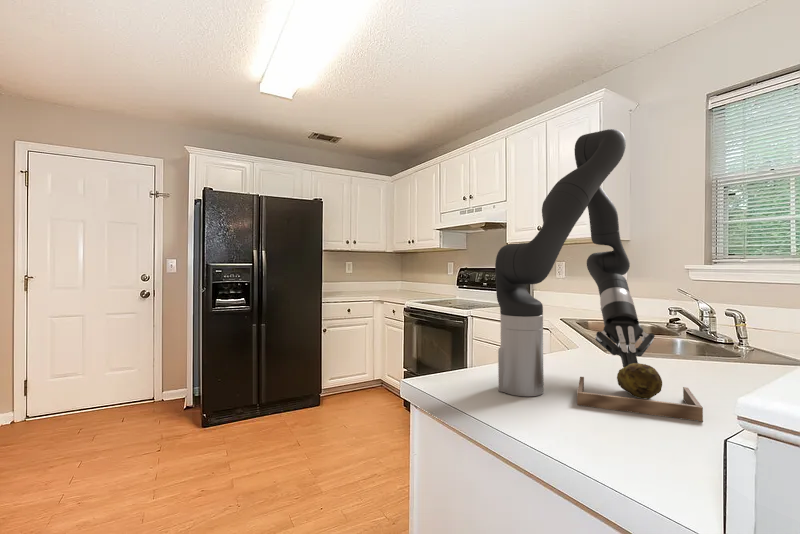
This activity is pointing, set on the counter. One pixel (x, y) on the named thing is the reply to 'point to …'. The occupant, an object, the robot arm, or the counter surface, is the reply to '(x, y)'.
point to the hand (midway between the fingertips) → (631, 369)
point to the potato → (640, 380)
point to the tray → (643, 404)
